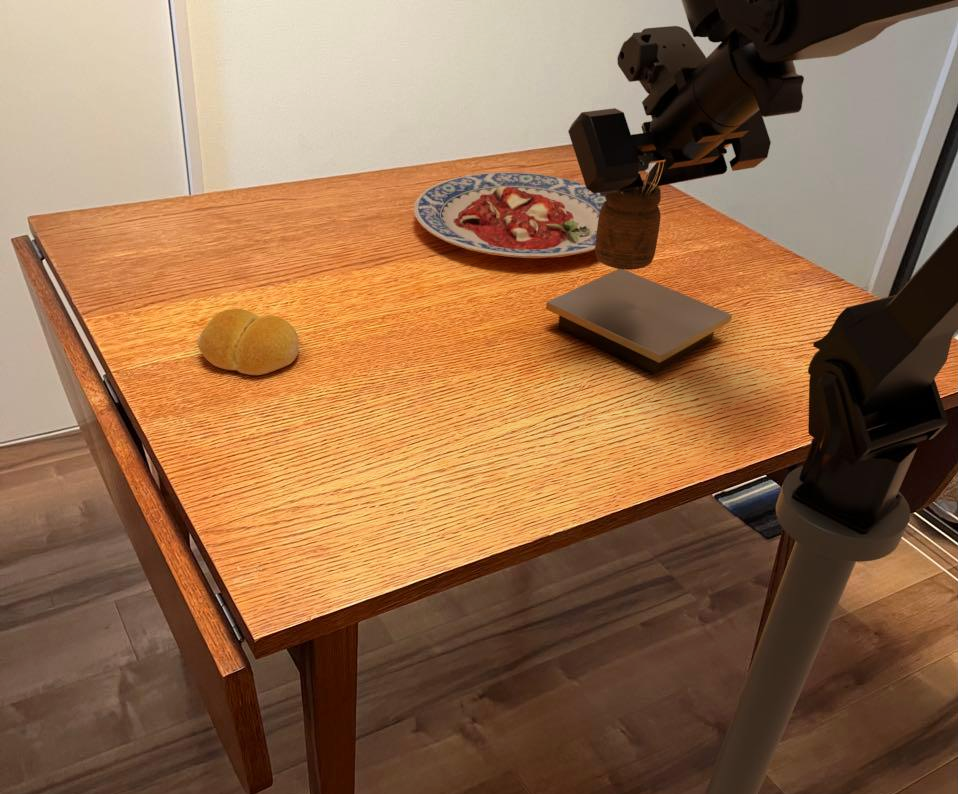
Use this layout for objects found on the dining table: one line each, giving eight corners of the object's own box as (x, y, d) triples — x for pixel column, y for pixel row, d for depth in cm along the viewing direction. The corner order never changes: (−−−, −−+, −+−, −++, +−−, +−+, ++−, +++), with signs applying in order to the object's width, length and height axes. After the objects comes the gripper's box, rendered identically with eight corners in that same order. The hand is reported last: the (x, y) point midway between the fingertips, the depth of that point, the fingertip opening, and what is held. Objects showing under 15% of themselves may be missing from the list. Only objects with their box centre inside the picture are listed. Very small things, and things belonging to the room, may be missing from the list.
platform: (725, 342, 93) (732, 314, 91) (655, 383, 86) (660, 355, 84) (616, 293, 100) (620, 267, 98) (543, 329, 93) (546, 301, 91)
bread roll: (278, 384, 83) (273, 345, 80) (189, 367, 85) (182, 328, 82) (315, 342, 89) (312, 304, 86) (231, 326, 91) (226, 289, 88)
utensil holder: (621, 276, 87) (640, 146, 80) (579, 252, 91) (593, 126, 84) (666, 263, 90) (689, 136, 82) (624, 241, 94) (642, 117, 86)
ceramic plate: (369, 224, 111) (369, 200, 109) (508, 174, 126) (510, 152, 124) (533, 295, 98) (535, 269, 96) (666, 230, 113) (670, 206, 111)
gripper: (781, -10, 76) (677, 97, 91) (594, 3, 69) (513, 116, 84) (822, 117, 76) (711, 203, 91) (639, 143, 69) (550, 232, 84)
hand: (624, 186), depth 87 cm, fingers closed on utensil holder, 5 cm apart
